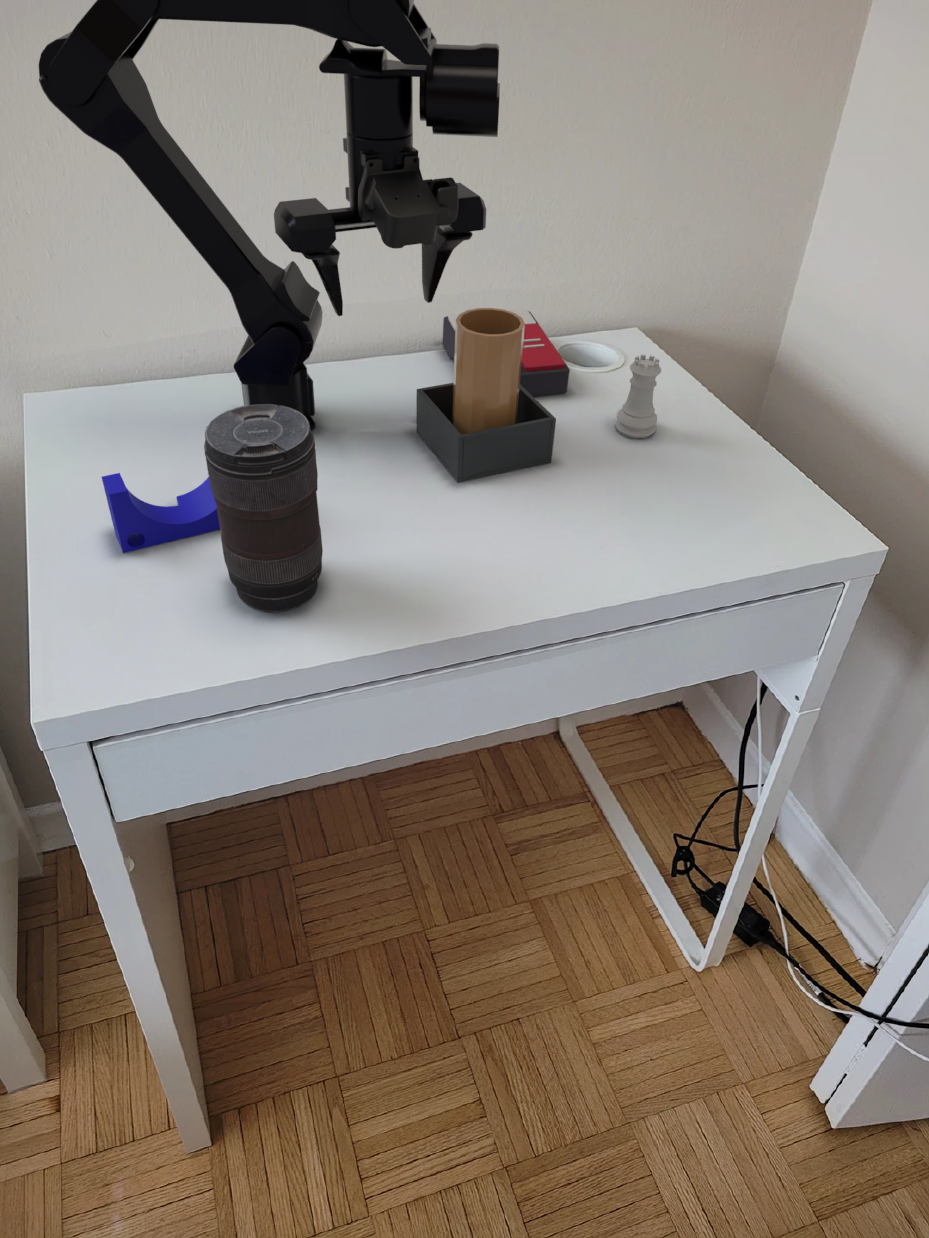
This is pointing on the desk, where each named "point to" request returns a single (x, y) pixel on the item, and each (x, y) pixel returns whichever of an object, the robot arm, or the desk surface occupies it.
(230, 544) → the camera lens
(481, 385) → the wooden cup
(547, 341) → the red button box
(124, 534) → the blue semicircular cradle bracket
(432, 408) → the bin
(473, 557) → the desk surface
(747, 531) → the desk surface
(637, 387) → the rook chess piece
